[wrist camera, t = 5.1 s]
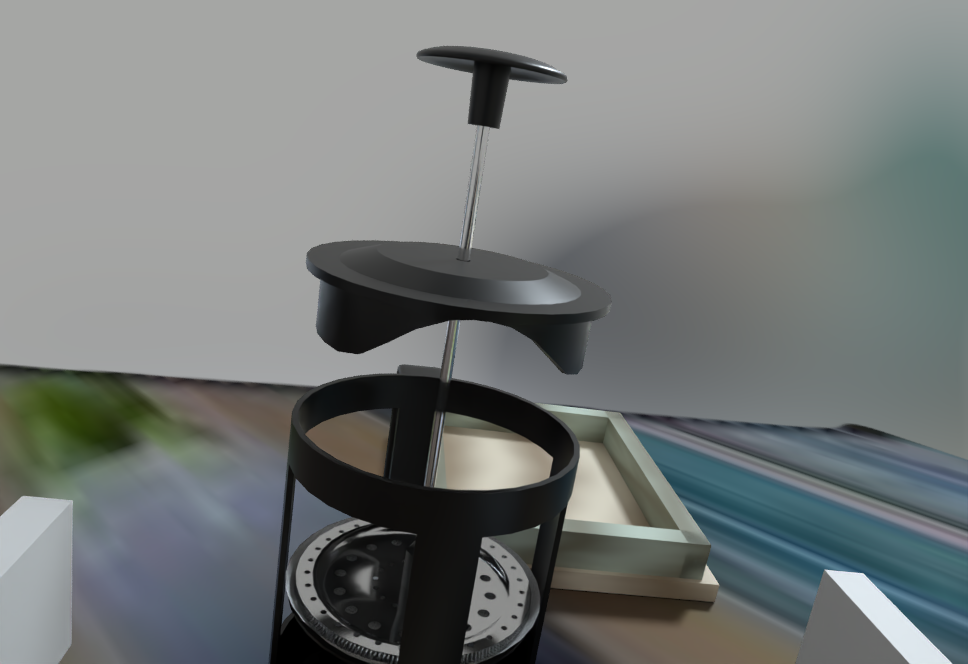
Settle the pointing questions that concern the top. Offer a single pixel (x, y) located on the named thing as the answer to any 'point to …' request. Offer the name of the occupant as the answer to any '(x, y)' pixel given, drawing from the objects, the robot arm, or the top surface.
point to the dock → (590, 505)
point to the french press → (430, 442)
